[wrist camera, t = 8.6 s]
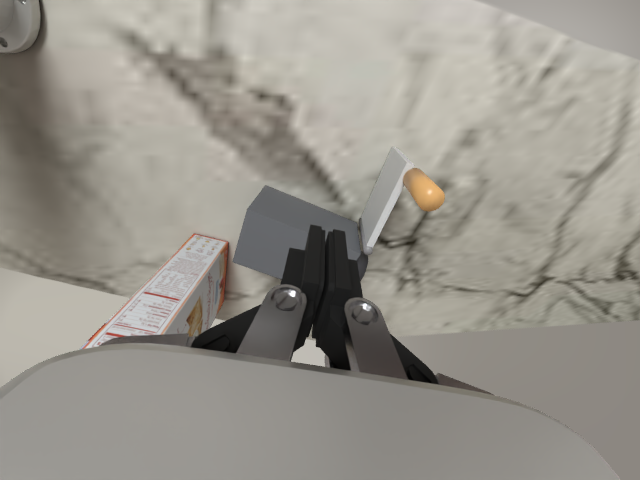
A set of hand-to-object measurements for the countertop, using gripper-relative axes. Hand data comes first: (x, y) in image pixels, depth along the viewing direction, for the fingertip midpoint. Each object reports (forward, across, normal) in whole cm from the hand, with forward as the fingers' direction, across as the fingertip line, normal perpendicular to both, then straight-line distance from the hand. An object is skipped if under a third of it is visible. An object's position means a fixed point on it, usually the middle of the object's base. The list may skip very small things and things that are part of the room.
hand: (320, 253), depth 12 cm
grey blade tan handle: (+22, -8, +3) cm, 24 cm away
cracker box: (+23, +15, +24) cm, 36 cm away
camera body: (+22, -1, +12) cm, 25 cm away
